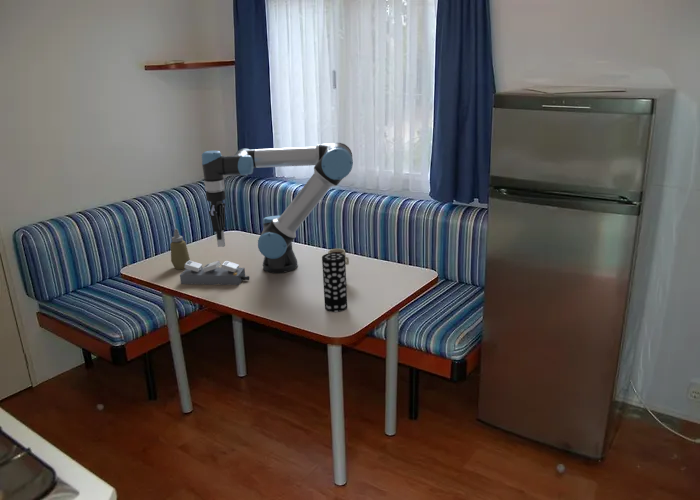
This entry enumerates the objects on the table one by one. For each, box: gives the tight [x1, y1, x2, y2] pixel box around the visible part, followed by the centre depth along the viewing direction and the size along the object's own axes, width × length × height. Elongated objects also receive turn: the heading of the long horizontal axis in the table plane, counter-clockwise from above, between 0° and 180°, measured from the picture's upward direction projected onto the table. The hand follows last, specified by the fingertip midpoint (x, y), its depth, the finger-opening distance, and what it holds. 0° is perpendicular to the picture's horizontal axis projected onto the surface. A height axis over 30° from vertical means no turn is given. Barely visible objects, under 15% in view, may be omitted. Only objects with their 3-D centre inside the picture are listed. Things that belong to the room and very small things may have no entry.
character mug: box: [327, 248, 350, 266], centre depth 238 cm, size 11×7×13 cm, turn 60°
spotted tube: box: [321, 252, 348, 313], centre depth 213 cm, size 8×8×20 cm
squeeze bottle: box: [170, 228, 191, 270], centre depth 259 cm, size 8×8×18 cm
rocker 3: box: [220, 260, 240, 272], centre depth 243 cm, size 6×5×2 cm
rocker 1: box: [184, 259, 204, 272], centre depth 245 cm, size 6×5×2 cm
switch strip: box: [179, 266, 250, 286], centre depth 245 cm, size 28×9×5 cm, turn 83°
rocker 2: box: [203, 260, 222, 272], centre depth 244 cm, size 6×5×2 cm
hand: (221, 246), depth 240 cm, fingers closed
